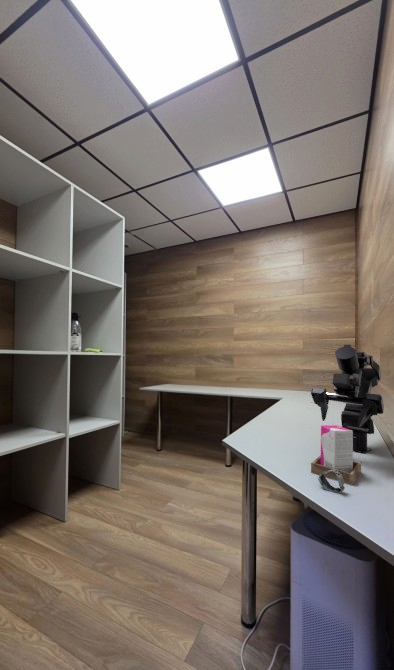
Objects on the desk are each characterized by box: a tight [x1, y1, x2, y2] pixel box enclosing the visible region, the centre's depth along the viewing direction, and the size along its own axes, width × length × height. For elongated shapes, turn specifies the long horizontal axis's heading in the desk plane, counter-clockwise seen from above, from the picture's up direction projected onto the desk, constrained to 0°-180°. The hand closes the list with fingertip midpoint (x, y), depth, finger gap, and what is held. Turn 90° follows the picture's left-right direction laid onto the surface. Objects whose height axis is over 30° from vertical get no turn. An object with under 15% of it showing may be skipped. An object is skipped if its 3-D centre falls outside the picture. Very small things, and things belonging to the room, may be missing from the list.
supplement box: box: [320, 424, 354, 473], centre depth 73 cm, size 6×6×12 cm
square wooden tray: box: [310, 454, 362, 486], centre depth 72 cm, size 10×10×2 cm
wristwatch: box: [317, 469, 346, 494], centre depth 62 cm, size 3×5×5 cm
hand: (340, 423), depth 76 cm, fingers open, 9 cm apart
